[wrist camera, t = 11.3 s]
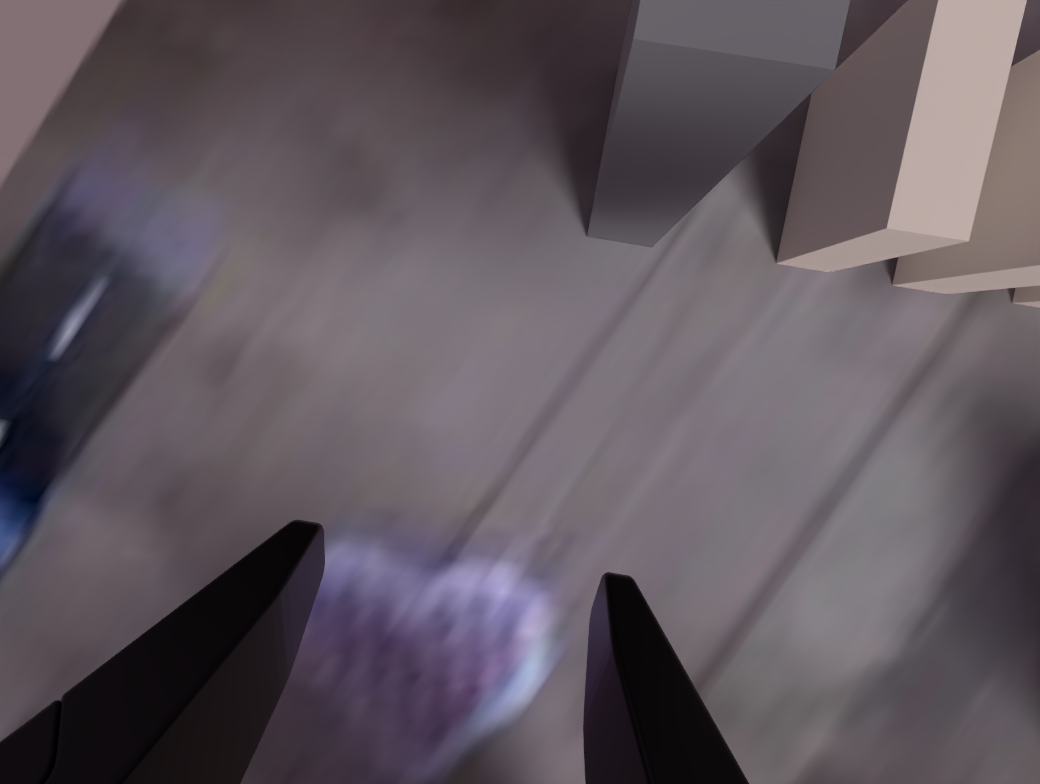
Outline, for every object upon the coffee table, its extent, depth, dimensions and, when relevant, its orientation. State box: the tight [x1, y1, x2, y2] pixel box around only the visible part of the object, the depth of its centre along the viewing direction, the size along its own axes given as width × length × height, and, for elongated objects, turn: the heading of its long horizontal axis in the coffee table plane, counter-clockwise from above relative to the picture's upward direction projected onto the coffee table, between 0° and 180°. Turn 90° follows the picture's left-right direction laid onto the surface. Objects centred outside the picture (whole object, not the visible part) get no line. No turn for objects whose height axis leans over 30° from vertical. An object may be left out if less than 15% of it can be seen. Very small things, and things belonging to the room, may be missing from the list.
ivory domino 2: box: [892, 50, 1040, 294], centre depth 15 cm, size 2×5×6 cm, turn 171°
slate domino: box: [587, 0, 850, 247], centre depth 12 cm, size 2×5×13 cm, turn 170°
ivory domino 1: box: [776, 0, 1027, 272], centre depth 15 cm, size 2×5×6 cm, turn 171°
